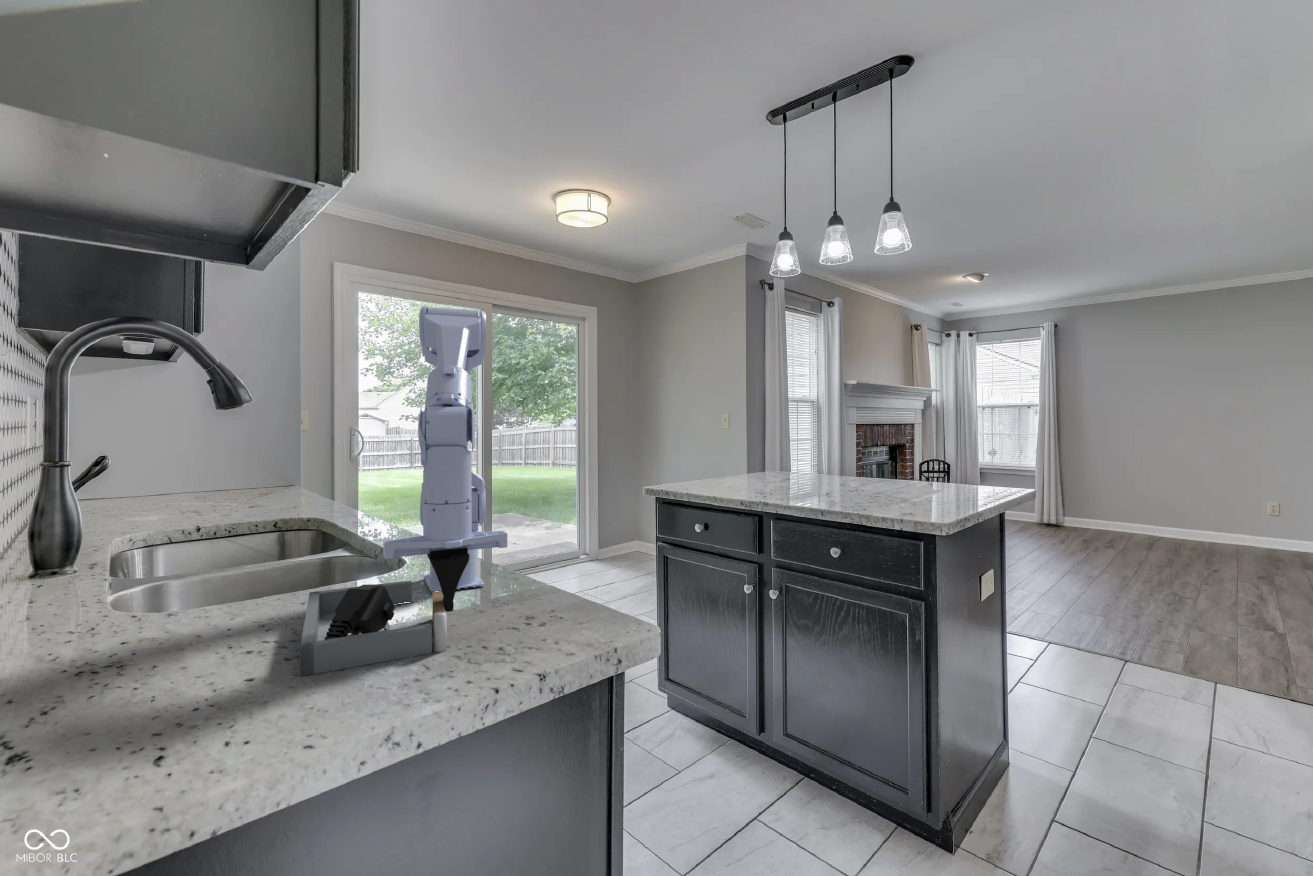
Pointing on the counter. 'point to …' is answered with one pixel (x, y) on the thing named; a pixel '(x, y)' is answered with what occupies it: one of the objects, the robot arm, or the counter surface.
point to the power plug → (362, 611)
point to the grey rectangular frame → (365, 635)
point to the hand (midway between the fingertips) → (447, 609)
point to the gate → (437, 603)
